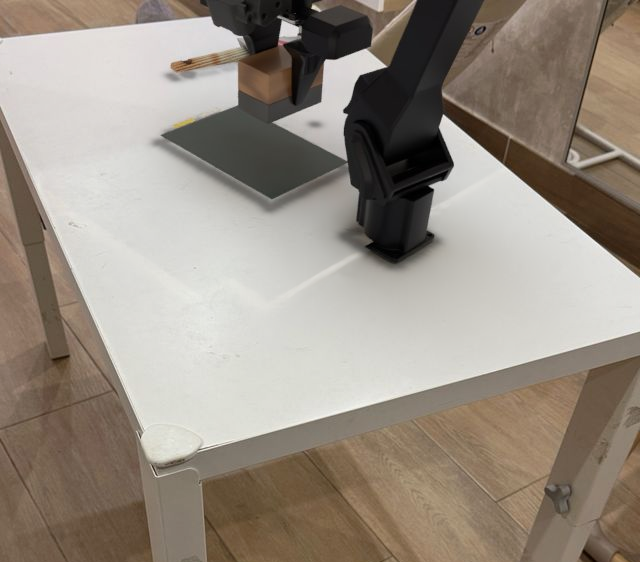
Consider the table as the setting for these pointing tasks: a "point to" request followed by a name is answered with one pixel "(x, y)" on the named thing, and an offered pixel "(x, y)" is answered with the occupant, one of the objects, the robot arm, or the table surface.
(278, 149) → the slate board
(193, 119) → the chalk strip yellow
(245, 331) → the table surface
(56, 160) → the table surface
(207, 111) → the chalk strip white
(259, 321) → the table surface
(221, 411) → the table surface
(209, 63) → the chopsticks in paper sleeve
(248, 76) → the eraser
